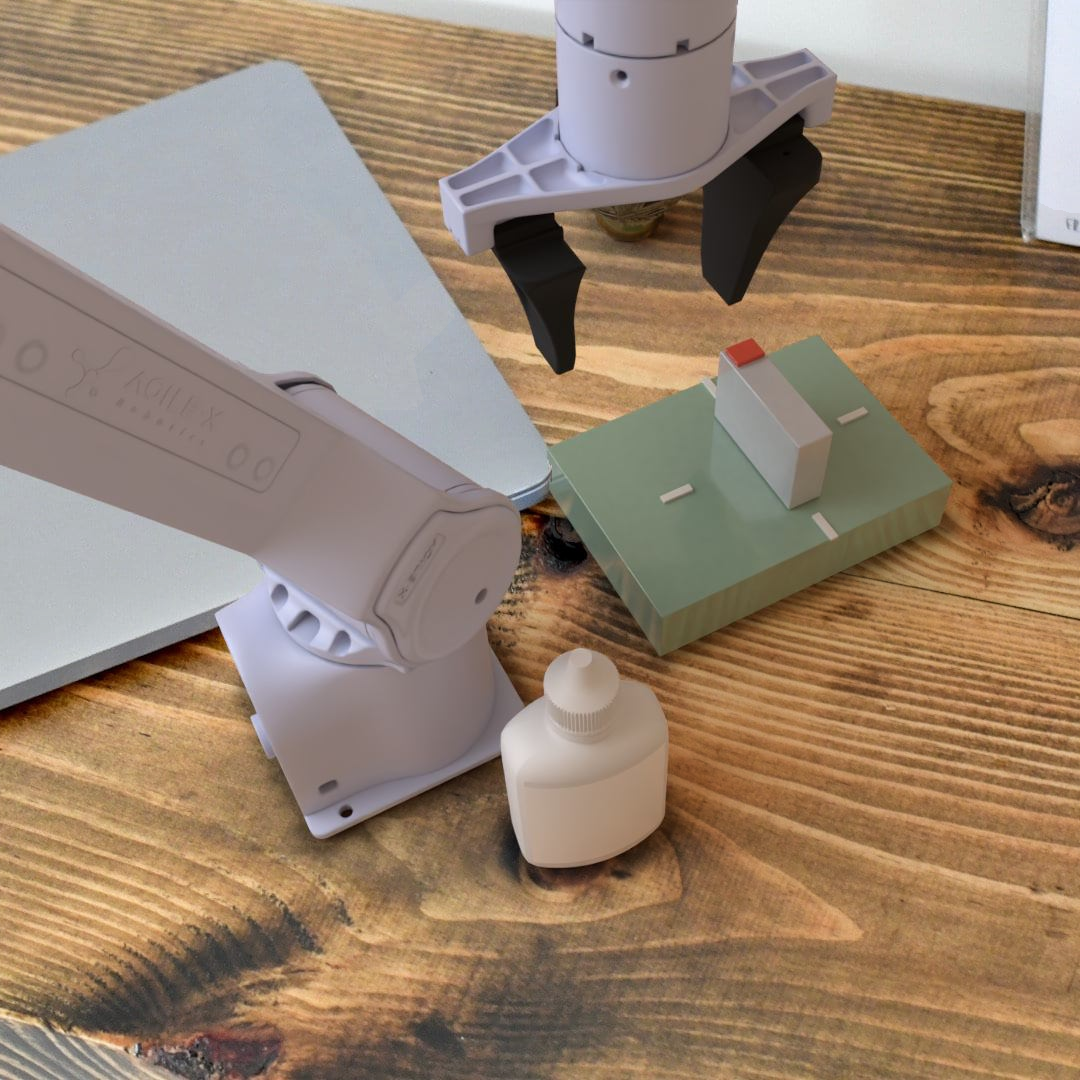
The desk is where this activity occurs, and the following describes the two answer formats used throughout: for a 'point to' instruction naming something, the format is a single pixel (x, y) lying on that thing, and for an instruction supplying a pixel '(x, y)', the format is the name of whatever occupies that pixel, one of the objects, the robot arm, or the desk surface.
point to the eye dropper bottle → (585, 764)
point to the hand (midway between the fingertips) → (639, 322)
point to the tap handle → (772, 423)
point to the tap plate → (739, 501)
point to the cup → (632, 216)
